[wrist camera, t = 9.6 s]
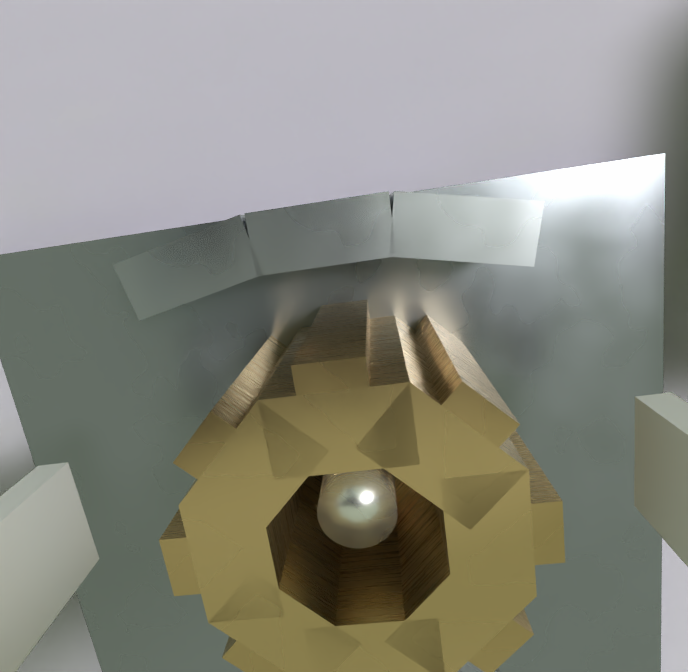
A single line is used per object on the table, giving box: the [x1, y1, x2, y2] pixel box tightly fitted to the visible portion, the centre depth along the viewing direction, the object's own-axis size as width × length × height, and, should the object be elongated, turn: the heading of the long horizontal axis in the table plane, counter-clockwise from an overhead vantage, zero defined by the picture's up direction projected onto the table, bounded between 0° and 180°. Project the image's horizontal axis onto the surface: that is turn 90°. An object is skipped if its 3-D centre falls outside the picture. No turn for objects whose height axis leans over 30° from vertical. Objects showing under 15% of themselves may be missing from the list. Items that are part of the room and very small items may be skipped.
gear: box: [159, 300, 565, 672], centre depth 13 cm, size 8×8×6 cm
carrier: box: [0, 153, 665, 672], centre depth 15 cm, size 21×21×6 cm
